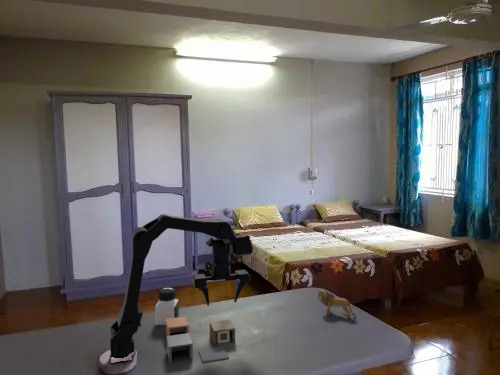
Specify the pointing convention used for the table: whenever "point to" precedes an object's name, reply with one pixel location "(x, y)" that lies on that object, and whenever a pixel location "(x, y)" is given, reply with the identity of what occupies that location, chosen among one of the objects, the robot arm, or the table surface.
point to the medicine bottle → (166, 306)
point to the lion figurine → (334, 302)
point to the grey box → (179, 345)
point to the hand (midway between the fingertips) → (221, 303)
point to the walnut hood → (221, 329)
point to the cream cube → (223, 336)
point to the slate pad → (213, 354)
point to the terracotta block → (177, 325)
